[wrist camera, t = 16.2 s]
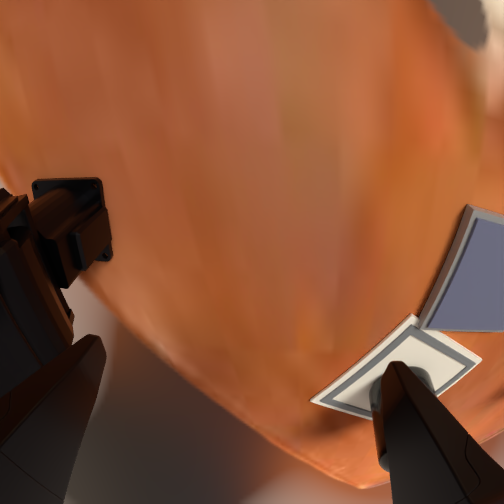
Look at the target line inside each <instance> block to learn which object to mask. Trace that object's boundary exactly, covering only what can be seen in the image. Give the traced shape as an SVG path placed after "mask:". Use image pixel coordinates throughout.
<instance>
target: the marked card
mask: <svg viewBox="0 0 504 504" xmlns="http://www.w3.org/2000/svg"><path fill="white" fill-rule="evenodd" d="M418 322H419V318H418V317H416V316H415V315H413V314H412V313H410V314H409V315H408V316H407V317H406V318H405V319H404V320H403V321H402V322H401V323H400V324H399V325H398V326H397V327H396V328H395V329H394V330H393V331H392V332H391V333H389V334H388V335H387V336H386V337H385V338H384V339H383V340H382V341H381V342H380V343H378V344H377V345H376V346H375V347H374V348H373V349H372V350H371V351H369V352H368V353H367V354H366V355H365V356H364V357H362V358H361V359H360V360H359V361H358V362H357V363H355V364H354V365H353V366H352V367H351V368H349V369H348V370H347V371H346V372H344V373H343V374H342V375H341V376H340V377H338V378H337V379H336V380H335V381H333V382H332V383H331V384H329V385H328V386H327V387H326V388H324V389H323V390H322V391H320V392H319V393H318V394H316V395H315V396H314V397H312V398H311V399H310V402H313V403H316V404H319V405H322V406H325V407H328V408H331V409H335V410H338V411H341V412H345V413H348V414H351V415H355V416H358V417H362V418H365V419H369V420H372V414H371V408H370V402H369V391H370V388H371V387H372V385H373V384H374V382H375V381H376V380H377V379H378V378H380V377H381V376H383V374H384V372H385V370H386V368H387V366H388V364H389V363H390V362H391V361H403V362H404V363H405V364H406V365H407V366H416V367H420V368H423V369H425V370H426V371H427V372H428V373H429V375H430V377H431V380H432V383H433V386H434V389H435V392H436V395H437V397H438V396H439V395H441V394H442V393H443V392H445V391H446V390H447V389H448V388H450V387H451V386H452V385H454V384H455V383H456V382H457V381H458V380H460V379H461V378H462V377H463V376H465V375H466V374H467V373H468V372H469V371H471V370H472V369H473V368H474V367H475V366H476V365H477V364H479V363H480V362H481V361H482V358H480V357H479V356H477V355H476V354H474V353H473V352H471V351H470V350H468V349H467V348H465V347H464V346H462V345H460V344H459V343H457V342H456V341H454V340H453V339H451V338H450V337H448V336H446V335H445V334H443V333H442V332H440V331H437V330H420V329H419V327H418V325H417V324H418Z"/></svg>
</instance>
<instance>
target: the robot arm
mask: <svg viewBox="0 0 504 504" xmlns="http://www.w3.org/2000/svg"><path fill="white" fill-rule="evenodd" d="M93 183H95V184H96V185H97V188H96V187H94V185H93ZM37 185H38V187H39V188H38V187H37ZM32 191H33V197H34V201H32V202H31V203H30V204H29V200H28V197H27V194H25V195H20V196H13V195H12V194H10V193H9V192H8V191H6V190H5V189H4V188H1V189H0V504H63V503H64V499H65V495H66V491H67V488H68V484H69V481H70V477H71V474H72V470H73V467H74V464H75V461H76V457H77V454H78V451H79V448H80V445H81V442H82V438H83V436H84V433H85V430H86V427H87V424H88V421H89V418H90V415H91V412H92V410H93V406H94V404H95V401H96V398H97V394H98V390H99V386H100V382H101V378H102V374H103V370H104V366H105V363H106V351H105V348H104V346H103V343H102V340H101V338H100V337H99V336H97V335H92V334H88V335H86V336H84V337H83V338H82V339H80V340H79V341H77V342H76V343H75V344H73V345H72V342H73V338H74V333H73V326H72V325H73V321H74V314H73V312H72V310H71V309H69V307H68V304H67V303H66V300H65V298H64V296H63V294H62V292H61V289H60V288H64V289H68V288H69V286H70V285H71V284H72V283H73V281H74V280H75V279H76V278H77V276H78V275H79V274H80V273H81V271H86V270H87V269H88V268H89V266H90V265H91V264H92V263H93V262H94V260H97V261H109V260H110V259H111V258H112V256H113V251H112V246H111V240H112V238H111V232H110V225H109V219H108V212H107V209H106V207H105V201H104V194H103V185H102V181H101V180H100V179H99V178H96V177H85V178H53V179H37V180H35V181H34V182H33V183H32ZM105 253H106V254H107V255H108V256H106V255H105ZM71 345H72V346H71ZM381 397H382V416H383V429H384V436H385V442H386V449H387V457H388V464H389V472H390V481H391V490H392V499H393V504H504V469H503V468H502V467H501V466H500V465H499V464H497V462H495V461H494V460H493V459H492V458H491V457H490V456H489V455H488V454H487V453H486V452H485V451H484V450H483V449H482V448H481V446H480V445H479V444H478V443H477V442H476V441H475V440H474V439H473V438H472V436H471V435H470V434H468V432H467V431H466V430H465V429H464V428H463V426H462V425H461V424H460V423H459V422H458V421H457V420H456V418H455V417H454V416H453V415H452V414H451V413H450V412H449V411H448V410H447V408H446V407H445V406H444V405H443V404H442V403H441V402H440V401H439V400H438V398H437V397H436V396H435V395H434V394H433V393H432V392H431V391H430V390H429V389H428V388H427V386H426V385H425V384H424V383H423V382H422V381H421V380H420V379H419V378H418V377H417V376H416V374H415V373H414V372H413V371H412V370H411V369H410V368H409V367H408V366H407V365H406V364H405V363H404V362H403V361H391V362H390V363H389V364H388V366H387V368H386V370H385V372H384V374H383V376H382V378H381Z"/></svg>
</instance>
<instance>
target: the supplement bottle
mask: <svg viewBox="0 0 504 504" xmlns="http://www.w3.org/2000/svg"><path fill="white" fill-rule="evenodd" d="M408 367H409V368H410V369H411V370H412V371H413V372H414V373H415V374H416V376H417V377H418V378H419V379H420V380H421V381H422V382H423V383H424V384H425V385H426V386H427V388H428V389H429V390H430V391H431V392H432V393H433V394H434V395H435V396H436V397H437V395H436V392H435V389H434V386H433V383H432V380H431V377H430V375H429V373H428V372H427V371H426V370H425V369H423V368H420V367H416V366H408ZM381 378H382V376H381V377H380V378H378V379H377V380H376V381H375V382H374V384H373V385H372V387H371V388H370V391H369V402H370V408H371V414H372V421H373V427H374V434H375V441H376V448H377V455H378V461H379V465H380V466H381V467H382V468H383V469H384V470H385V471H387V472H389V464H388V457H387V449H386V442H385V436H384V429H383V416H382V397H381Z"/></svg>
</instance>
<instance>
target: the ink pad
mask: <svg viewBox="0 0 504 504" xmlns="http://www.w3.org/2000/svg"><path fill="white" fill-rule="evenodd" d="M417 325H418V327H419V329H420V330H437V331H464V332H503V331H504V215H502V214H499V213H496V212H493V211H489V210H486V209H483V208H479V207H476V206H473V205H469V204H467V206H466V209H465V212H464V215H463V217H462V220H461V223H460V226H459V228H458V231H457V234H456V236H455V239H454V241H453V244H452V246H451V249H450V251H449V253H448V256H447V258H446V261H445V263H444V265H443V267H442V270H441V272H440V274H439V276H438V279H437V281H436V283H435V285H434V287H433V289H432V291H431V294H430V296H429V298H428V300H427V302H426V304H425V306H424V308H423V310H422V312H421V314H420V316H419V322H418V324H417Z"/></svg>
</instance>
